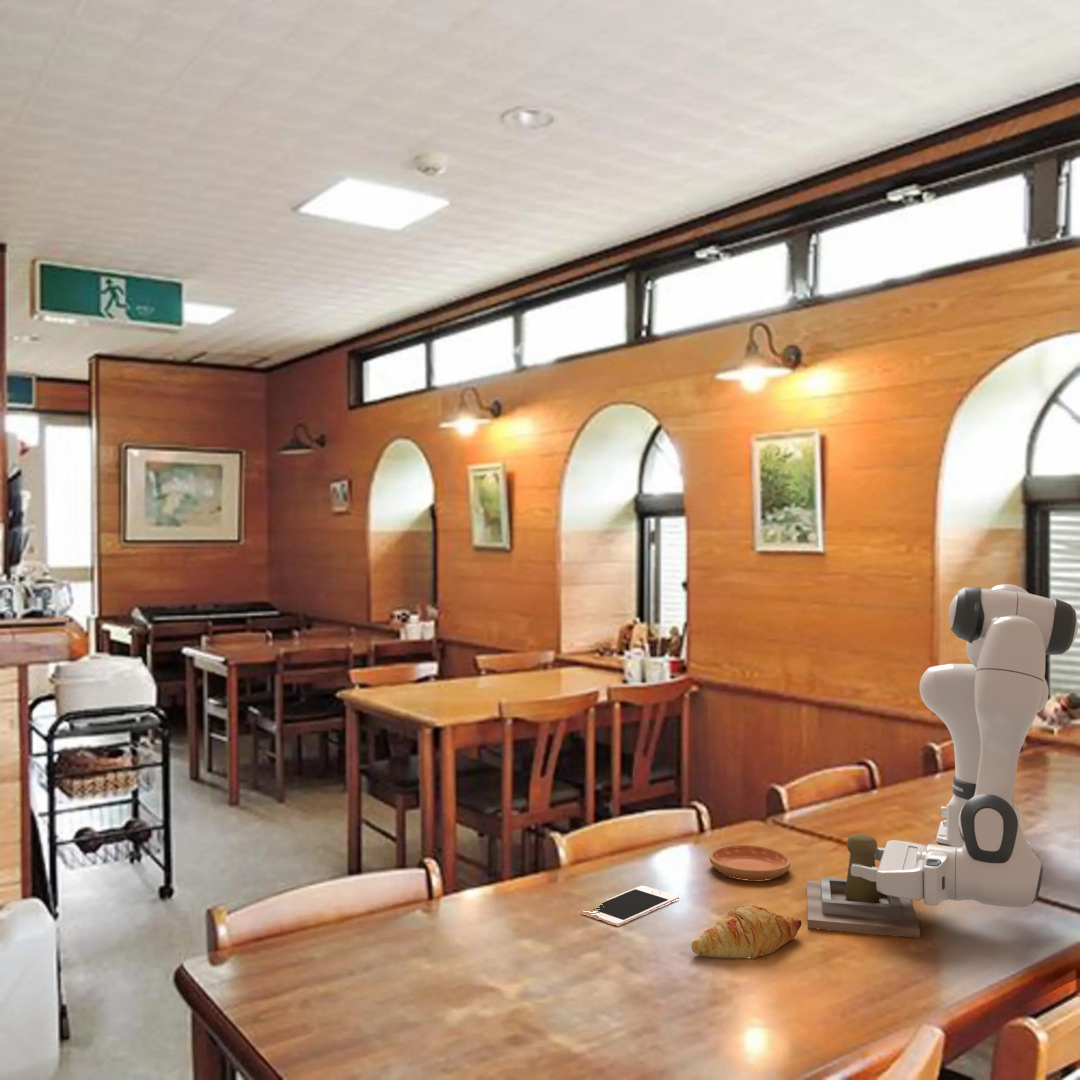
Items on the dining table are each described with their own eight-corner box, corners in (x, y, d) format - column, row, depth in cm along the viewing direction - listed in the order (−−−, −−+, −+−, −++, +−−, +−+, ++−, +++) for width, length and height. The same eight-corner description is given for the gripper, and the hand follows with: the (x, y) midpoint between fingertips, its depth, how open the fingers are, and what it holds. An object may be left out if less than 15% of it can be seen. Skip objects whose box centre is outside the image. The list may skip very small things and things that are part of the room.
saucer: (797, 864, 206) (797, 850, 206) (781, 890, 192) (781, 874, 192) (720, 854, 213) (720, 840, 213) (699, 878, 198) (699, 863, 198)
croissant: (703, 988, 158) (716, 952, 155) (671, 937, 166) (683, 902, 163) (809, 960, 167) (824, 925, 164) (774, 913, 175) (788, 879, 172)
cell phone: (680, 901, 186) (680, 896, 186) (617, 929, 174) (617, 924, 174) (642, 889, 193) (642, 884, 193) (579, 915, 180) (579, 910, 180)
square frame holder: (806, 888, 192) (806, 869, 192) (907, 896, 187) (907, 877, 187) (807, 928, 173) (807, 907, 172) (919, 938, 168) (919, 917, 168)
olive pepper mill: (883, 903, 178) (883, 841, 178) (848, 902, 179) (848, 840, 179) (875, 890, 184) (875, 830, 184) (841, 889, 185) (841, 830, 185)
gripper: (940, 836, 184) (861, 827, 190) (934, 871, 165) (846, 860, 171) (940, 871, 184) (861, 861, 190) (934, 909, 165) (847, 897, 171)
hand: (854, 861), depth 180 cm, fingers open, 8 cm apart
